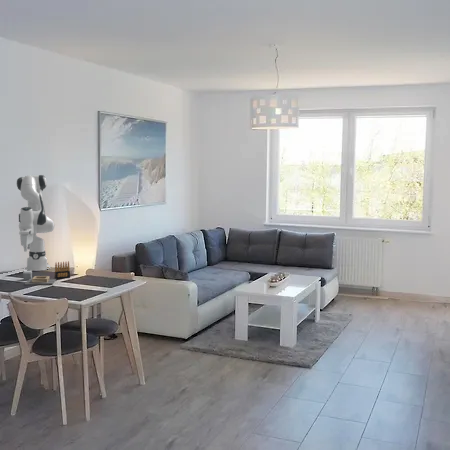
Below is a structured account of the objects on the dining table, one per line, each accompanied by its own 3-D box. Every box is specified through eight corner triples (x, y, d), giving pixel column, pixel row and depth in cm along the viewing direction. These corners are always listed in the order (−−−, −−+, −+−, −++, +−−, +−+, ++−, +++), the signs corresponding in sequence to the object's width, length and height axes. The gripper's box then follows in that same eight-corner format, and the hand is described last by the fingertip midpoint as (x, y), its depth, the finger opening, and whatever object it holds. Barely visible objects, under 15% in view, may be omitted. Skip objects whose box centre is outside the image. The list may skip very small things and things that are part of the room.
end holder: (30, 280, 412) (29, 275, 412) (56, 280, 414) (56, 275, 414) (24, 285, 396) (24, 279, 396) (52, 285, 398) (52, 279, 398)
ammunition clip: (69, 277, 425) (69, 260, 424) (70, 277, 423) (70, 261, 422) (54, 278, 420) (54, 261, 418) (55, 279, 418) (55, 262, 417)
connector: (24, 278, 416) (24, 270, 415) (32, 278, 416) (31, 270, 416) (23, 280, 412) (23, 271, 411) (30, 280, 412) (30, 271, 412)
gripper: (25, 228, 420) (26, 248, 422) (18, 232, 400) (19, 252, 401) (34, 228, 421) (35, 248, 422) (28, 232, 400) (28, 252, 402)
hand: (27, 250), depth 412 cm, fingers open, 8 cm apart
